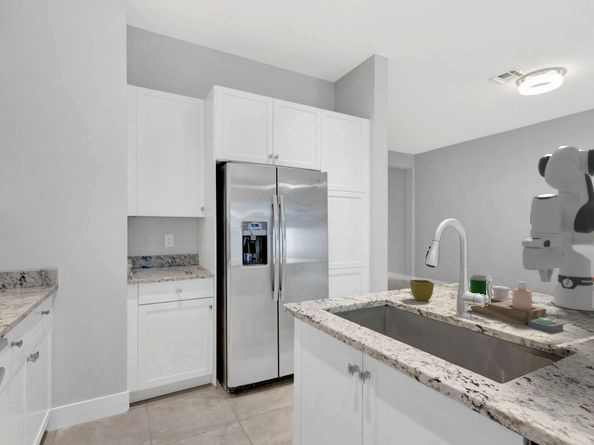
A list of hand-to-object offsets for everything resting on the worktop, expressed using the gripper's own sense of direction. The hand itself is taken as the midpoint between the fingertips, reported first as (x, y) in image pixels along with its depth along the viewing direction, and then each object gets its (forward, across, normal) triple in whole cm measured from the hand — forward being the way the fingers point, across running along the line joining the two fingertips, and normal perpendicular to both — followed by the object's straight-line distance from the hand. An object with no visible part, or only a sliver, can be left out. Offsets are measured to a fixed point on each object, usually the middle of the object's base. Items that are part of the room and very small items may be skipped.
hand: (545, 281), depth 112 cm
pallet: (+17, -3, -16) cm, 23 cm away
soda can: (+18, -21, -40) cm, 49 cm away
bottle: (+16, -3, -10) cm, 19 cm away
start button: (+16, +1, 0) cm, 16 cm away
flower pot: (+17, +4, -52) cm, 55 cm away
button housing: (+17, +1, 0) cm, 17 cm away
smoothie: (+18, -14, -25) cm, 34 cm away
